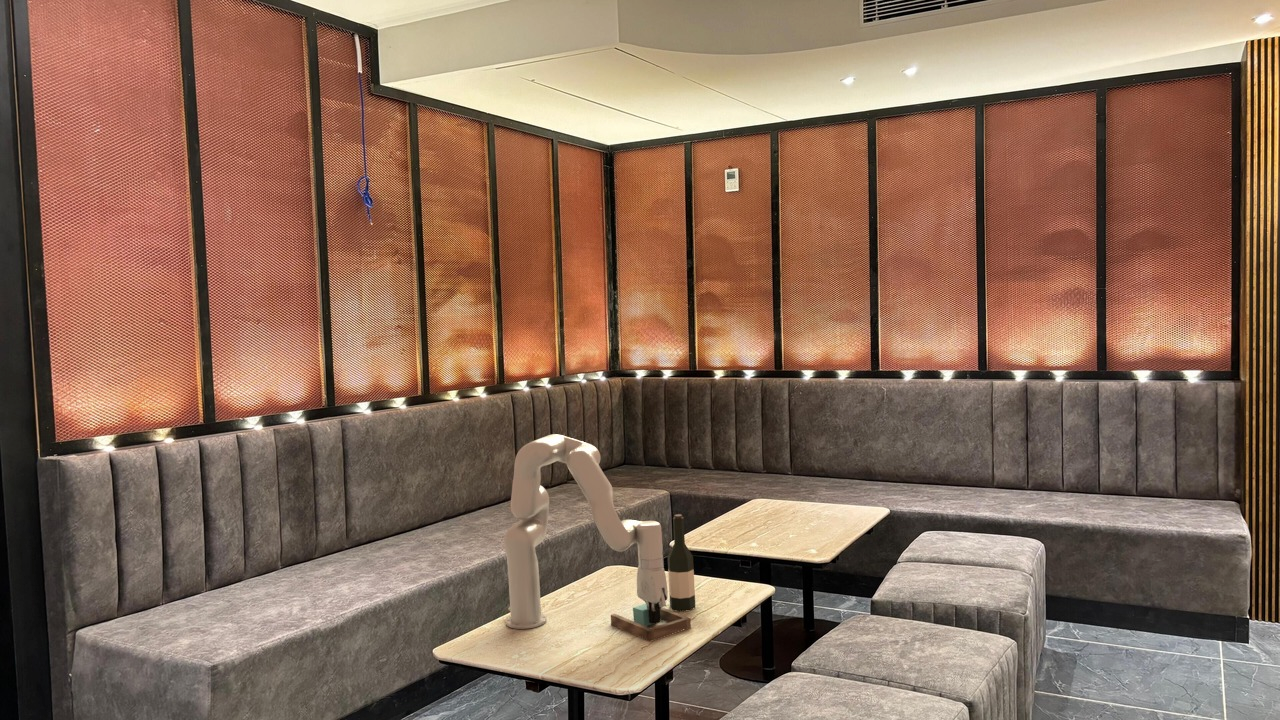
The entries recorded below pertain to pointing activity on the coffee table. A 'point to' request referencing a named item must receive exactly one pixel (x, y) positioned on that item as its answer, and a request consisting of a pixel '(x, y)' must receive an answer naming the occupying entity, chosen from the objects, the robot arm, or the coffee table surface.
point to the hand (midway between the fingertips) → (654, 622)
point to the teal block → (641, 615)
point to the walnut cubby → (675, 625)
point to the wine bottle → (680, 570)
